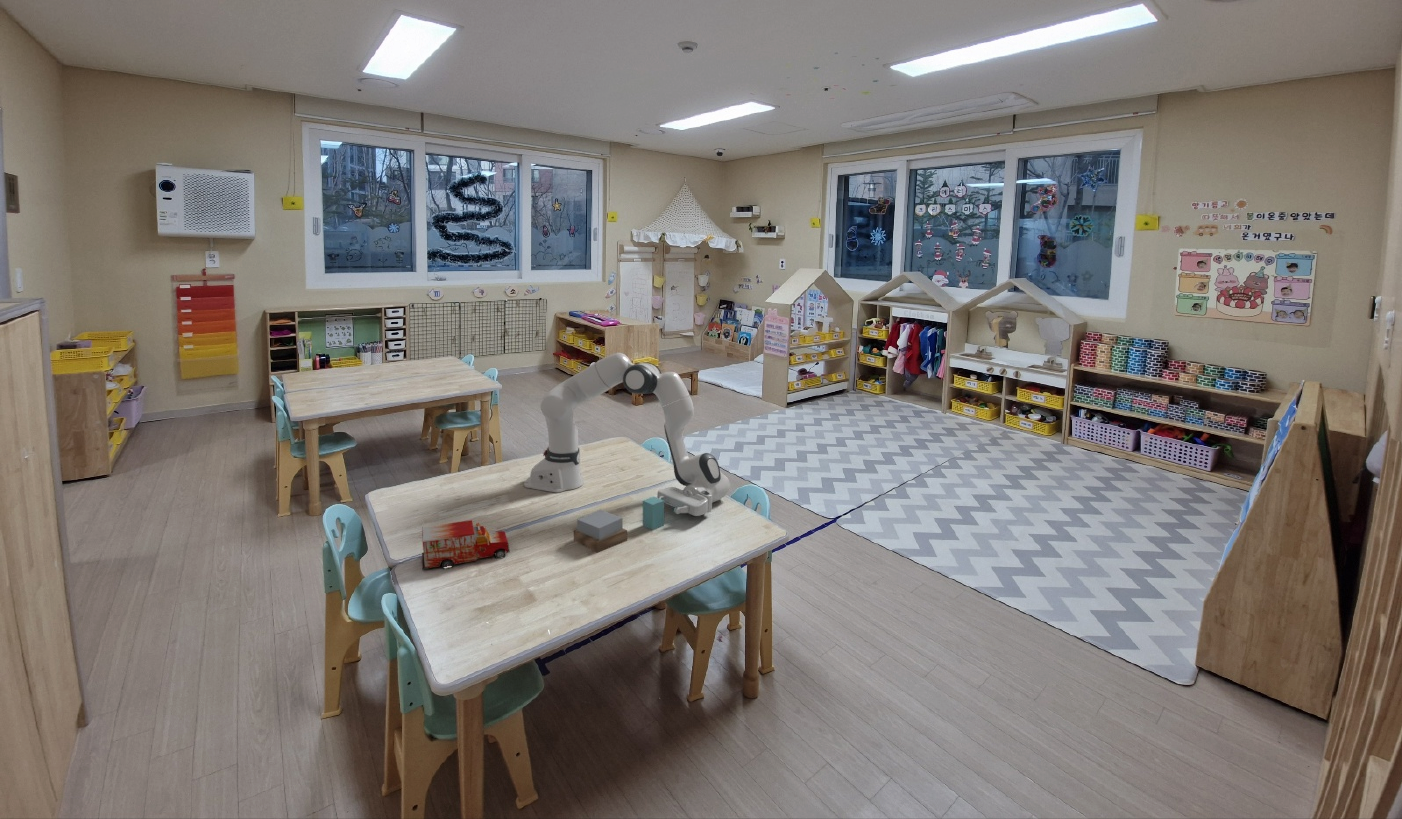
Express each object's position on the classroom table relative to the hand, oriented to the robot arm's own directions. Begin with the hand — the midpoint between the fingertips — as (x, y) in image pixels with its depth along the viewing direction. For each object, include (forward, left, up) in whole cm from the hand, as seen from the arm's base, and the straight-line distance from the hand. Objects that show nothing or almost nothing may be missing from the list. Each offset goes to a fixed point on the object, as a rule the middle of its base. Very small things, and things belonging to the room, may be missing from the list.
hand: (665, 507), depth 226 cm
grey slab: (-17, -19, -1) cm, 26 cm away
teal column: (-3, -5, -5) cm, 8 cm away
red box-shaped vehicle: (-53, -37, -5) cm, 65 cm away
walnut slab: (-17, -19, -5) cm, 26 cm away
